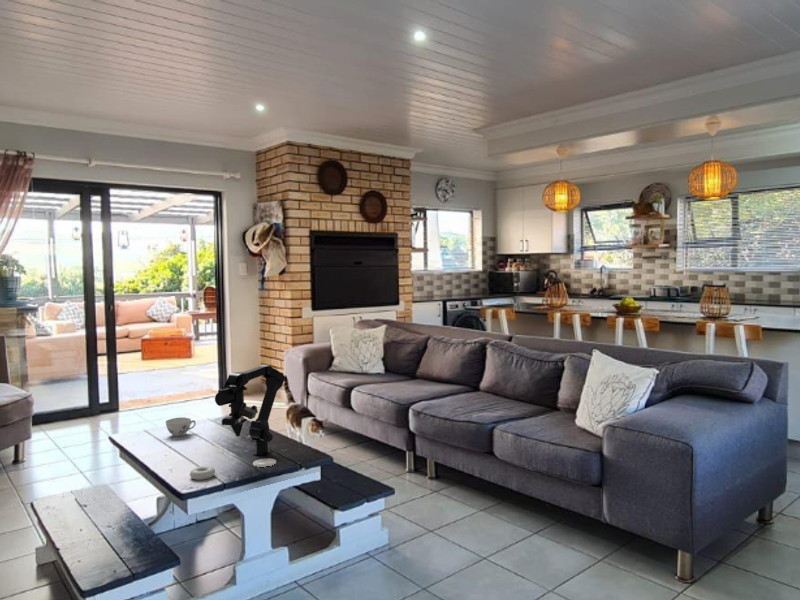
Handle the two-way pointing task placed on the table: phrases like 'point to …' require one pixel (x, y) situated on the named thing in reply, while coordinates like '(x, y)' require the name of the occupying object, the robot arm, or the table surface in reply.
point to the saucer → (264, 462)
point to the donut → (202, 472)
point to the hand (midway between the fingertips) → (238, 436)
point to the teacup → (179, 425)
